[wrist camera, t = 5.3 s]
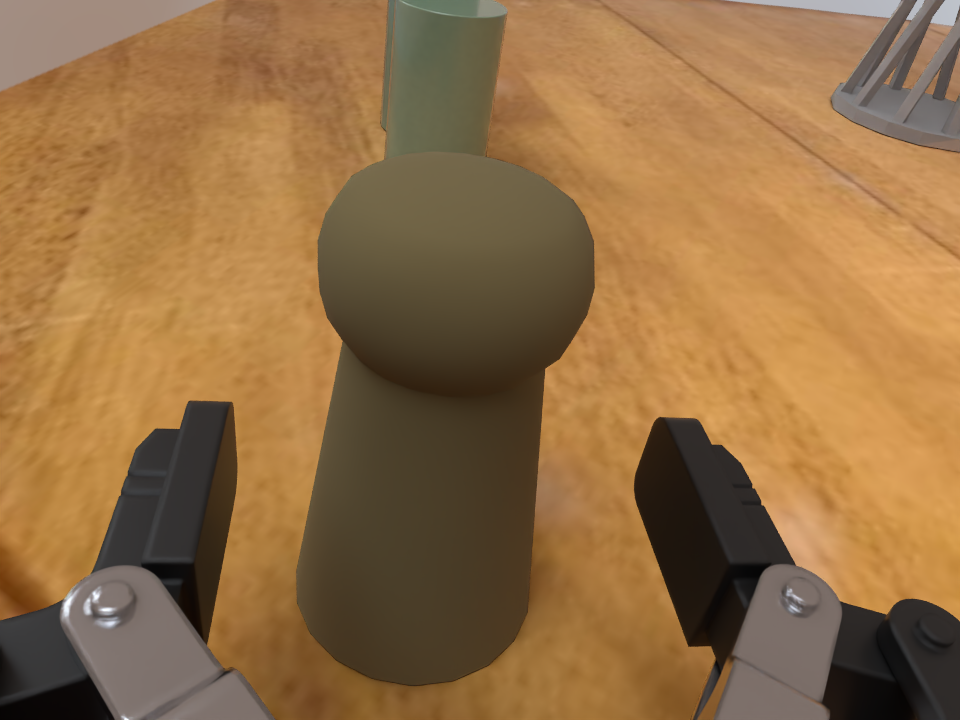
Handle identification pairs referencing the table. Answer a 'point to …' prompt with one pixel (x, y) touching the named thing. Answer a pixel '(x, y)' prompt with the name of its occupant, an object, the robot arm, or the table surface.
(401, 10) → the front jar
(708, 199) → the table surface
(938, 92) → the grey lattice tower
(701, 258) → the table surface
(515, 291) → the olive chess pawn
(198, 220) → the table surface
